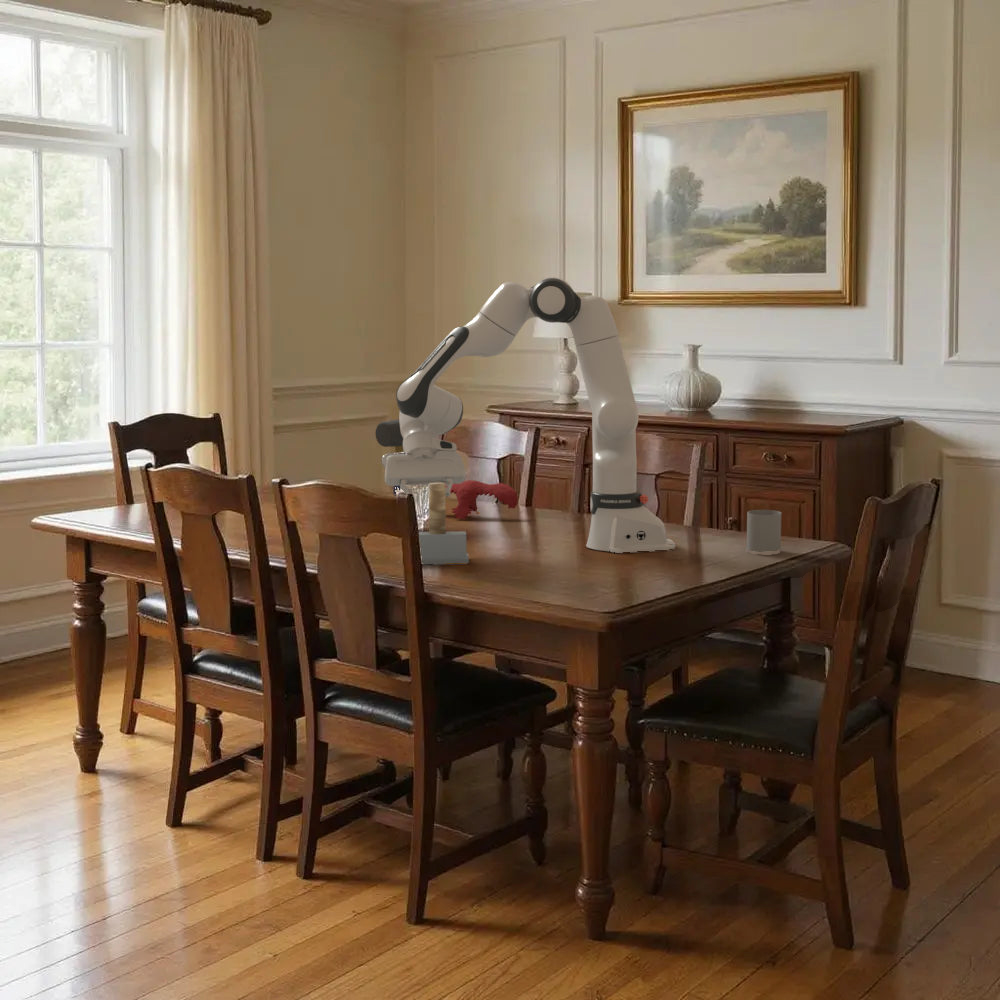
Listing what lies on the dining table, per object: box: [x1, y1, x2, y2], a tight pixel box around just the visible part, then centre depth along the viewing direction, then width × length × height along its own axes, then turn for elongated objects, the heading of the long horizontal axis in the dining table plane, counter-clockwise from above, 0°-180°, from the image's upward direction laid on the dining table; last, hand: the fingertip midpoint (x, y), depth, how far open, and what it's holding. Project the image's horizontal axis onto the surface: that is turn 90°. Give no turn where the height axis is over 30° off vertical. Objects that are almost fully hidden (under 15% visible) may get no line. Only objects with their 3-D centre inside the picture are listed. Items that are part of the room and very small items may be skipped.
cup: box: [746, 509, 782, 552], centre depth 345 cm, size 8×8×10 cm
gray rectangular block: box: [418, 530, 470, 566], centre depth 336 cm, size 15×7×7 cm, turn 93°
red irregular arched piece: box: [445, 479, 519, 520], centre depth 402 cm, size 28×9×15 cm
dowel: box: [428, 483, 447, 534], centre depth 335 cm, size 4×4×12 cm
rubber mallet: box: [374, 418, 404, 495], centre depth 384 cm, size 12×8×30 cm, turn 136°
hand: (428, 496), depth 344 cm, fingers open, 8 cm apart
